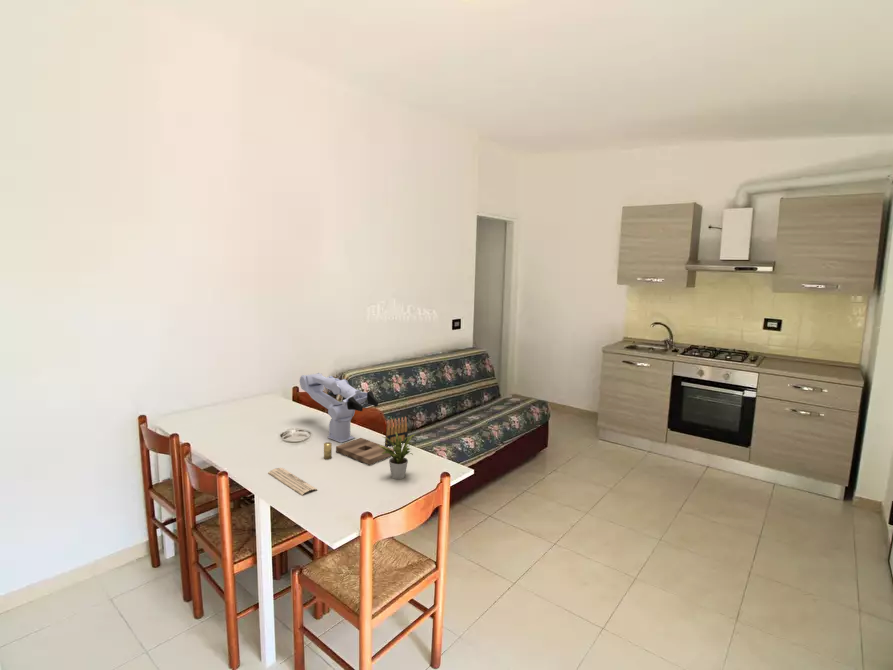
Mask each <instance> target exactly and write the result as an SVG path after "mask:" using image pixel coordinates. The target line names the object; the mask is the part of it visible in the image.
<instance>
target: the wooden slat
mask: <svg viewBox="0 0 893 670" xmlns="http://www.w3.org/2000/svg"><path fill="white" fill-rule="evenodd" d="M267 474H268V475H270V476H271V477H272V478H274V479H276V480H277V481H279V482H280V483H281V484H283V485H284V486H287V487H288V488H289V489H291V490H292V491H294V492H295V493H297V494H299V495H300V496H301V497H303V495H304V494H305V493H308V492H310V491H313V490H314V491H318V488H316V487H314V486H313V485H311V484H309V482H306V481H304V480H303V479H301V478H300V477H298V476H296V475H294V474H293V473H291V472H290V471H289V470H287V469H285V468H284V467H276V468H274V469H272V470H270V471H269V472H267Z"/></svg>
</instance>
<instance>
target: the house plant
mask: <svg viewBox="0 0 893 670" xmlns="http://www.w3.org/2000/svg"><path fill="white" fill-rule="evenodd" d="M415 435H416V434H412V435H410V436H408V437H406V438H408V439H407V440H406V438H405V439H404V441H405V440H406V442H405V443H404V441H403V443H402V438H401V436H400V438H399V439H398V434H397V433H396V442H395V440H394V439H393V440H394V442H395V444H396V445H394V443H393V442H392V441H391V440H390V439H388V438H386V439H388V440H389V442H390V443H392V444H391V445H393V446H391V448H392V449H393V450H394V452H393V451H392V450H390V449H388V448H389V447H388V448H386V446H385V447H383V446H384V445H383V446H379V447H381V448H383V449H384V450H385V451H384V452H383V453H382V454H385V453H389V454H390V455H391V457H390V459H389V460H388V463H389V468H390V470H389V471H390V477H391V478H392V479H394V480H401V479H404V478H405V476H406V473H407V469H408V463H409V460H408V459H407V458H406V456H407V455H412V456H414V453H412V452H411V448H409V446H410V445H411V444H412V443H413V442H414V440H412V439H413V438H412V437H414V436H415ZM382 438H384V444H385V443H386V442H385V440H386V439H385V436H382ZM411 440H412V442H410V441H411ZM401 443H402V444H401ZM387 444H388V443H387ZM408 444H409V445H408ZM410 452H411V453H410Z"/></svg>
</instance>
